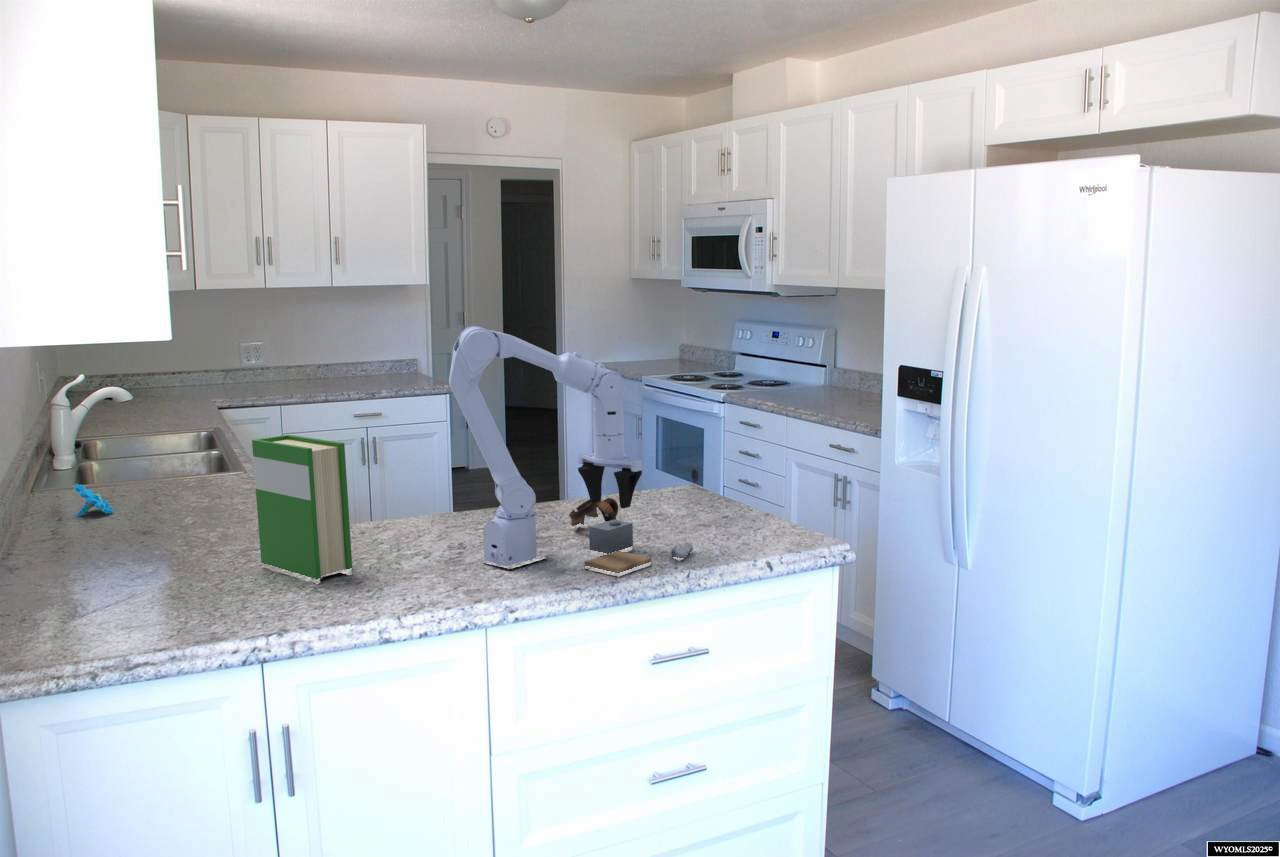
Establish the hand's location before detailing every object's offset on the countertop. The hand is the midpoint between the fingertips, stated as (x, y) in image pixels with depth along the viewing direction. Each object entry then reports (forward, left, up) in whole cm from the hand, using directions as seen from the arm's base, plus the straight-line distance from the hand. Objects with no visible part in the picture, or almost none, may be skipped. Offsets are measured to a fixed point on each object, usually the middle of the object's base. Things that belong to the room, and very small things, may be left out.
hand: (610, 504), depth 191 cm
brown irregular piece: (+11, +14, -10) cm, 20 cm away
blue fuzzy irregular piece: (-48, +118, -10) cm, 128 cm away
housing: (0, 0, -9) cm, 9 cm away
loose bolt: (+6, -13, -9) cm, 17 cm away
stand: (-7, -8, -9) cm, 14 cm away
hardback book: (-43, +36, -10) cm, 57 cm away
